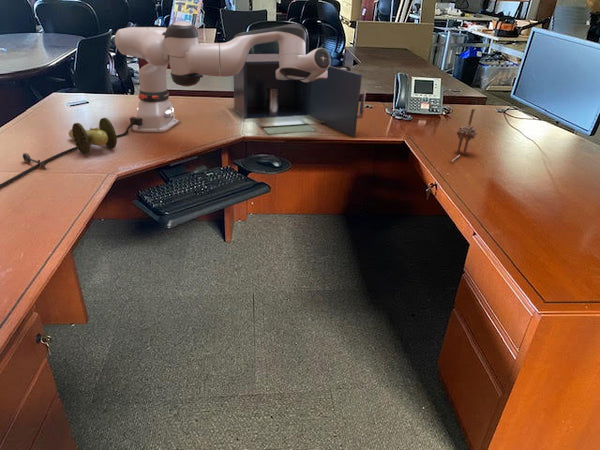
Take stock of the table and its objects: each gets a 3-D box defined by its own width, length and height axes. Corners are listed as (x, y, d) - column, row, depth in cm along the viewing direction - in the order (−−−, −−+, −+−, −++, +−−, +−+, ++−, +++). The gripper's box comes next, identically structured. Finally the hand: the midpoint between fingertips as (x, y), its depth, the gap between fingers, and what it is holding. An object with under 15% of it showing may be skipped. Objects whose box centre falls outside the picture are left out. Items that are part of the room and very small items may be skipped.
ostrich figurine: (456, 149, 186) (466, 106, 177) (472, 153, 182) (483, 109, 174) (442, 160, 173) (452, 114, 165) (459, 164, 170) (470, 118, 161)
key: (23, 161, 152) (20, 152, 151) (26, 161, 153) (23, 151, 151) (44, 170, 147) (42, 160, 145) (47, 169, 148) (45, 159, 146)
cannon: (59, 141, 171) (52, 112, 165) (89, 135, 179) (84, 107, 173) (90, 159, 157) (84, 128, 151) (121, 152, 165) (117, 122, 159)
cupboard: (309, 117, 217) (312, 60, 204) (244, 121, 206) (243, 61, 193) (294, 106, 233) (297, 53, 220) (234, 109, 222) (232, 54, 209)
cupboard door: (320, 116, 219) (323, 60, 206) (364, 134, 197) (372, 73, 184) (308, 117, 216) (312, 61, 203) (353, 136, 193) (359, 74, 180)
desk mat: (315, 131, 198) (315, 130, 198) (268, 134, 191) (268, 133, 191) (301, 119, 213) (301, 119, 212) (256, 122, 205) (256, 121, 205)
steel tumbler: (281, 114, 215) (281, 89, 209) (268, 115, 213) (269, 89, 207) (277, 110, 220) (277, 86, 214) (265, 111, 218) (265, 86, 212)
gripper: (282, 77, 168) (271, 86, 181) (331, 78, 175) (317, 86, 188) (280, 60, 167) (270, 70, 180) (330, 61, 174) (316, 71, 187)
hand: (294, 78), depth 184 cm, fingers open, 8 cm apart
